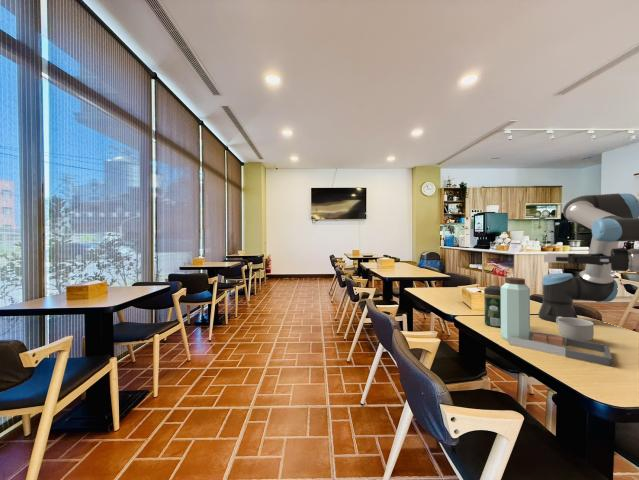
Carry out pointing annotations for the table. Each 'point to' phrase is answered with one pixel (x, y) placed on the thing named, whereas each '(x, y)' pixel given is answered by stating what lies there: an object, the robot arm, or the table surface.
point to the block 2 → (555, 340)
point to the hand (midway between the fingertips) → (545, 257)
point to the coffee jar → (492, 306)
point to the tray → (587, 356)
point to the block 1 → (540, 337)
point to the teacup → (575, 328)
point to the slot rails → (539, 344)
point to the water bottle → (515, 309)
